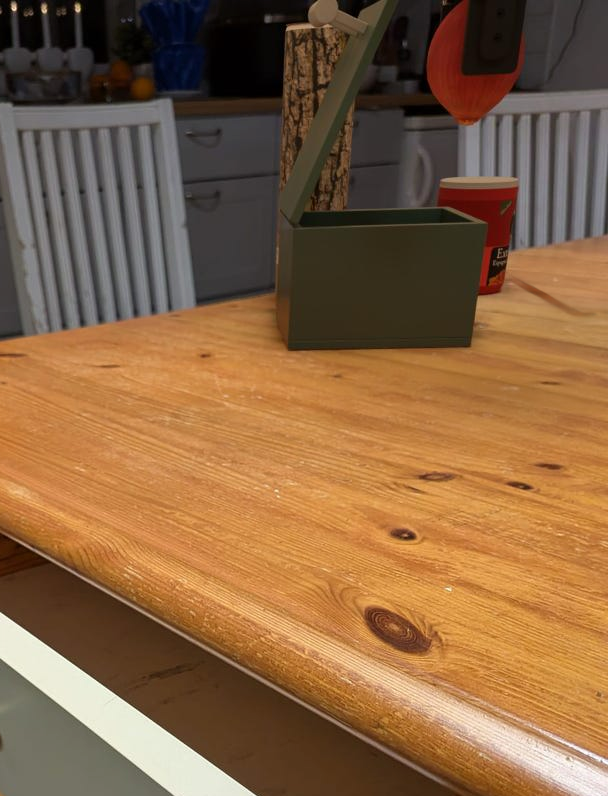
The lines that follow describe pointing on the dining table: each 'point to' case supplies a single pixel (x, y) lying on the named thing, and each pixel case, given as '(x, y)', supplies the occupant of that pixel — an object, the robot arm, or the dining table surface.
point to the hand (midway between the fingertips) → (473, 72)
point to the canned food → (486, 218)
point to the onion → (450, 86)
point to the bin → (379, 278)
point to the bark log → (313, 112)
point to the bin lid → (334, 95)
